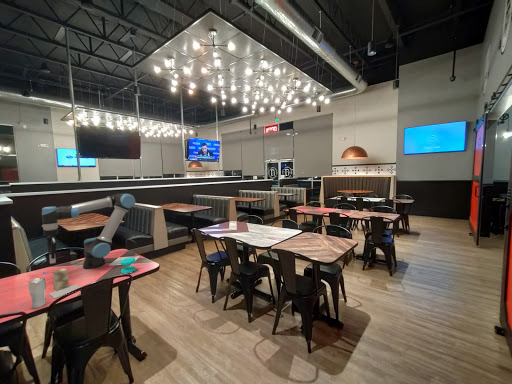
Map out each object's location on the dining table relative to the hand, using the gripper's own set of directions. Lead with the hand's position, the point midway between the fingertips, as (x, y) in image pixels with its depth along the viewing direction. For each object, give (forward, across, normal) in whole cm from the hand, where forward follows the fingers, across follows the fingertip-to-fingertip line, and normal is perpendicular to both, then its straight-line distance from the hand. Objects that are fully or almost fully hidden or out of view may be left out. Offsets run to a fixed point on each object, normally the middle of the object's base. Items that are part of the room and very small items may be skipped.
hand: (52, 262), depth 154 cm
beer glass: (+15, +28, -14) cm, 34 cm away
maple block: (+15, +13, 0) cm, 19 cm away
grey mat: (+15, +22, 0) cm, 26 cm away
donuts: (+14, +26, +38) cm, 48 cm away
